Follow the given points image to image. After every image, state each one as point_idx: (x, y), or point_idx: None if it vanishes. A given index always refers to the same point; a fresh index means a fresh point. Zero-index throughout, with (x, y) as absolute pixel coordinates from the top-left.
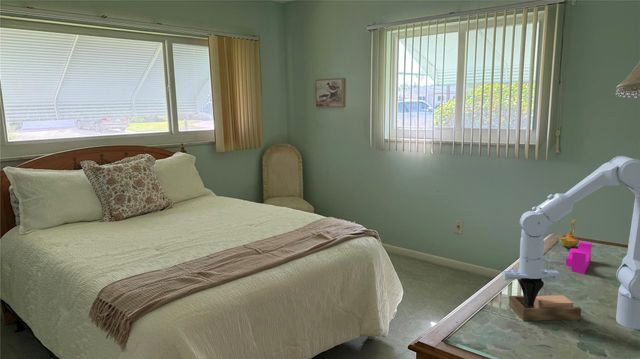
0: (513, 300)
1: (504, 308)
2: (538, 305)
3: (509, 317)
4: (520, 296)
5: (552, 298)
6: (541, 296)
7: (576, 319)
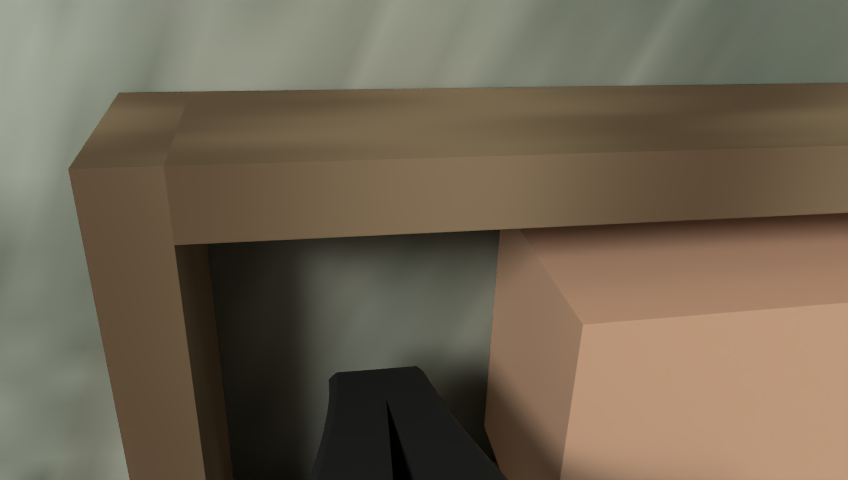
0: (110, 366)
1: (5, 189)
2: (525, 403)
3: (19, 469)
4: (334, 201)
5: (822, 415)
6: (704, 343)
7: None
